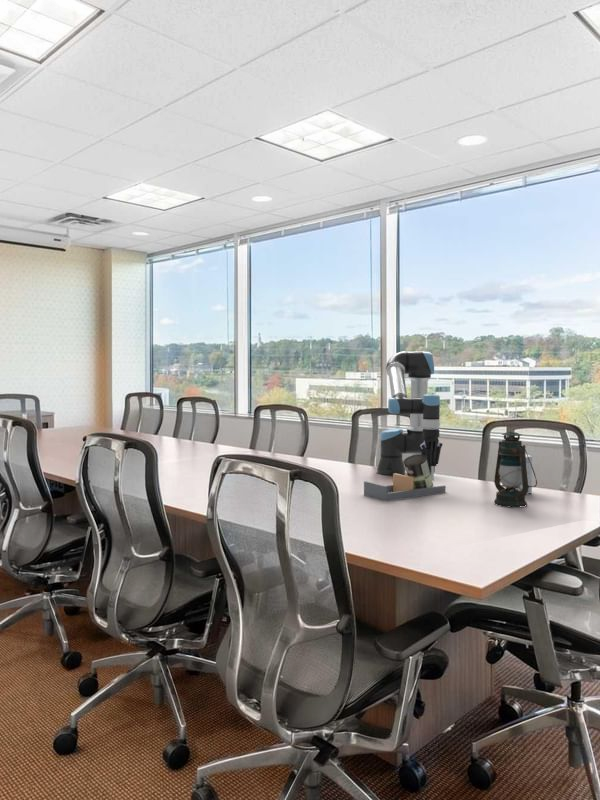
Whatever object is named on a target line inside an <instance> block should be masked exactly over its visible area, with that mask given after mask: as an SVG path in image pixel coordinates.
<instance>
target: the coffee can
mask: <svg viewBox="0 0 600 800" xmlns="http://www.w3.org/2000/svg"><path fill="white" fill-rule="evenodd" d="M403 463H404V467H405V473H406V476H411V477H413V489H420V488H427V487H434V483H433V482H434V481H432V479H431V475H430V471H429V467H428V463H427V460H426V456H425V455H421V454H413V455H410V456H408V457H406V458H404V460H403Z"/></svg>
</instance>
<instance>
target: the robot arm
mask: <svg viewBox="0 0 600 800" xmlns="http://www.w3.org/2000/svg"><path fill="white" fill-rule="evenodd" d="M385 372H386V375H387V376H388V379H389V387H390V395H391V397H389V398H388V401H387V404H388V405H387V410H388V413H389V414H395V415H409V416H410V417H409V425H408V426H407V427H406V431H404V430H403V428H390V429H387V430H382V431H381V433H380V439H379V440H380V450H379V451H380V452H379V455H380V458H379V461H378V464H377V467H376V473H377V474H380V475H386V476H387V475H388V476H390V475H391V476H393V474H395V473H396V474H401V475H406V469H405V465H404V463H403V462H404V460H403V454H411V455H412V454H413V455H418V454H421V455H425V456H426V460H427V463H428V467H429V471H430V475H431V479H432V482H434V481H435V480H434V479H435V472H436V471H435V467H437V465H439V460H440V455H441V449H442V447H443V443H442V442H440V440H439V438H440V421H441V420H440V419H441V418H440V414H441V413H440V409H441V400H440V395H438V394H428V383H429V382H428V381H429V380H430V379H431V377H432V375H434V374H435V362H434V356H433V354H432V352H429V351H400V352H396V353H394V354H393V355H392V356H391V357H390V358H389V359H388V361H387V363H386V366H385ZM405 375H407V377H408V379H409V380H410V397H408V392H407V391H408V390H407V384H406V379H405Z"/></svg>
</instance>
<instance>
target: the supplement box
mask: <svg viewBox="0 0 600 800" xmlns="http://www.w3.org/2000/svg"><path fill="white" fill-rule="evenodd" d="M527 454H528V453H527ZM527 454H526V453H525V455H526V468H527V478H528V486H533V470H532V467H533V466H532V467H531V464H532V465H533V456H532V455H529V454H528V456H527ZM528 457H529V459H530V461H529V459H528ZM530 462H531V464H530ZM521 484H522V483H521ZM521 484H520V485H519V486H520V487H519V488H520V489H523V485H521ZM519 488H515V489H516V490H518V491H521V490H520V489H519ZM527 493H533V487H529V488H528V492H527Z"/></svg>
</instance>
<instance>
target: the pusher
mask: <svg viewBox="0 0 600 800" xmlns="http://www.w3.org/2000/svg"><path fill="white" fill-rule="evenodd" d="M392 485H393V492H398V491H405V490H413V477H411V476H407V474H402V475H401V474H396V473H395V474H393V475H392Z"/></svg>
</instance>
